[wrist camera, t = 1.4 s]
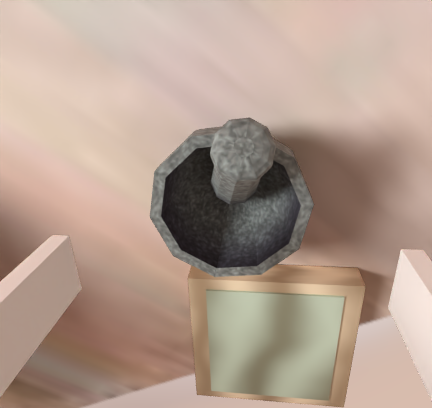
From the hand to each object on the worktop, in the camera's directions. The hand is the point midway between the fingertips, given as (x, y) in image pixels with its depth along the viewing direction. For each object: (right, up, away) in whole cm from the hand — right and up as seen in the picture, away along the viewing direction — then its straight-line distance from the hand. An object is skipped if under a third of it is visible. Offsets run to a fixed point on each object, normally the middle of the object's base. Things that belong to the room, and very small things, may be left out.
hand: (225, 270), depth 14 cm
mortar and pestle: (+1, +6, +13) cm, 14 cm away
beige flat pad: (+5, -9, +19) cm, 21 cm away
